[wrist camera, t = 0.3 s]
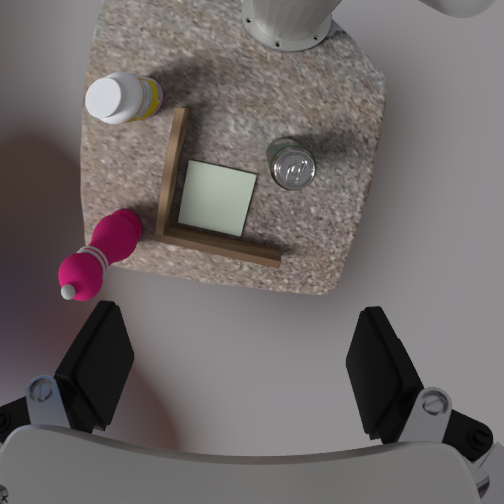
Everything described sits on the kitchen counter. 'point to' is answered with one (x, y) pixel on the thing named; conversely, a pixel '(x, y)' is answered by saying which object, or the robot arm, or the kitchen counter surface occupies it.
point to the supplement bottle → (124, 98)
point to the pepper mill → (99, 255)
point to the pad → (216, 197)
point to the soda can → (290, 164)
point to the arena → (193, 237)
